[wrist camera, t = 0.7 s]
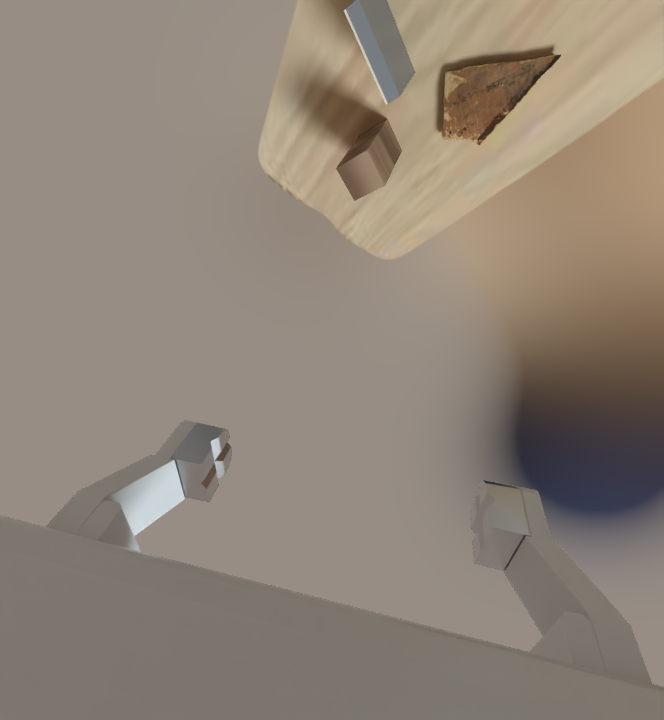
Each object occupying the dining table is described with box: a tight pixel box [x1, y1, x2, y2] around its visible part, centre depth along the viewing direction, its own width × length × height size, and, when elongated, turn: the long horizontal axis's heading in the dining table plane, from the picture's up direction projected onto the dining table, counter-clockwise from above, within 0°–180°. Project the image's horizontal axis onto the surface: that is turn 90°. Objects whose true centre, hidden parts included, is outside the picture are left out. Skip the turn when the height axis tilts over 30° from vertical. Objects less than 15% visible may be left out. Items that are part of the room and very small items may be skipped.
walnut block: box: [336, 119, 402, 201], centre depth 45 cm, size 4×4×10 cm
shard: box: [442, 55, 561, 145], centre depth 42 cm, size 11×8×2 cm
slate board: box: [344, 0, 415, 105], centre depth 38 cm, size 2×8×9 cm, turn 33°
